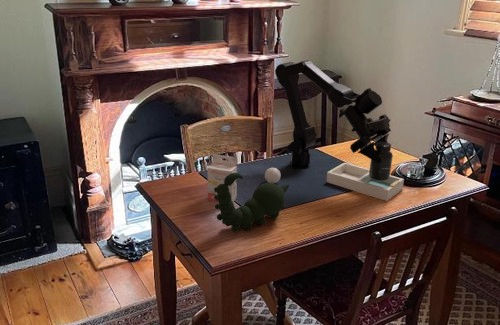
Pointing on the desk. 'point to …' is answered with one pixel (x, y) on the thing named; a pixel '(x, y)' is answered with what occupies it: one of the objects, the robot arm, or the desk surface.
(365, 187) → the tray
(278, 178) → the white ball
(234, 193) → the ink cartridge box
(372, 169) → the supplement bottle
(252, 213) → the toy figurine
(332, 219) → the desk surface
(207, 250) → the desk surface
